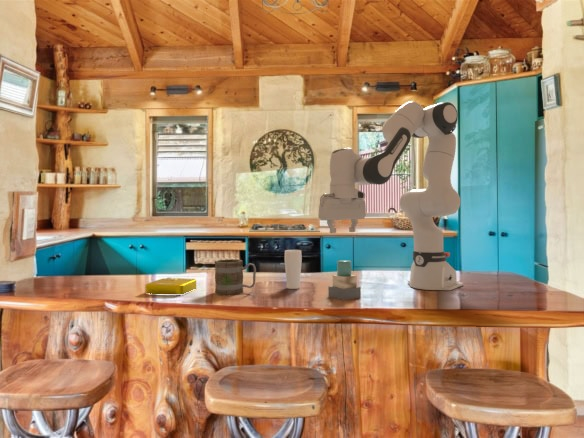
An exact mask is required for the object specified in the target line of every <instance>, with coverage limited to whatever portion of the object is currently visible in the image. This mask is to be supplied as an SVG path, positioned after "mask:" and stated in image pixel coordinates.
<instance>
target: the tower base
mask: <svg viewBox="0 0 584 438" xmlns="http://www.w3.org/2000/svg"><path fill="white" fill-rule="evenodd" d="M327 291H328V297H329V298H332V299H333V298H334V299H337V300H341V301H349V300H352V299H358V298H361V297H362V296H361V292H362V291H361V286H357V287H353V288H346V289H342V288H338V287H334V286H333V285H329V286H328V290H327Z"/></svg>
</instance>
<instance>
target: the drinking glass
mask: <svg viewBox="0 0 584 438" xmlns="http://www.w3.org/2000/svg"><path fill="white" fill-rule="evenodd" d="M302 256H303V255H302V250H301V249H287V250H286V249H285V250H284V269H285V271H284V272H285V279H286V289H288V290H299V289H300V287H301V276H302V275H301V272H302V260H303V258H302Z"/></svg>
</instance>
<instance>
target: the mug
mask: <svg viewBox="0 0 584 438" xmlns="http://www.w3.org/2000/svg"><path fill="white" fill-rule="evenodd" d="M243 264H244V261H243V260H242V259H236V258H235V259H229V258H228V259H217V260H214V267H215V268H214V269H215V270H214V280H215V281H214V282H215V283H214V284H215V285H214V287H215V289H214V293H215V295H217V294H218V295H217V296H223V295H225V296H227V297H228V296H229V295H230V296H239V295H241V294H243V293H244V288H247V289H252V288H254V286H255V284H256V279H257V278H256V277H257V276H256V275H257V268H256V265H255V264H254V263H251V262H249V263H247V264H246V265H244V266H243ZM249 266H252V267H253V273H252V284H251V285H248V284H244V283H243V282H244V273H243V272H244V271H243V270H246V269H247V268H248V267H249Z"/></svg>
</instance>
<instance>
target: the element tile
mask: <svg viewBox="0 0 584 438" xmlns="http://www.w3.org/2000/svg"><path fill="white" fill-rule="evenodd" d="M144 285H145V287H144V288H145V294H146V293H150V294H151V293H152V294H184V293H186V292H189V291H191V290H193V289H196V290H197V279H196V278H177V277H176V278H175V277H163V278H160V279H157V280H154V281H151V282H148V283H146V284H144ZM191 292H192V291H191ZM189 293H190V292H189Z"/></svg>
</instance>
